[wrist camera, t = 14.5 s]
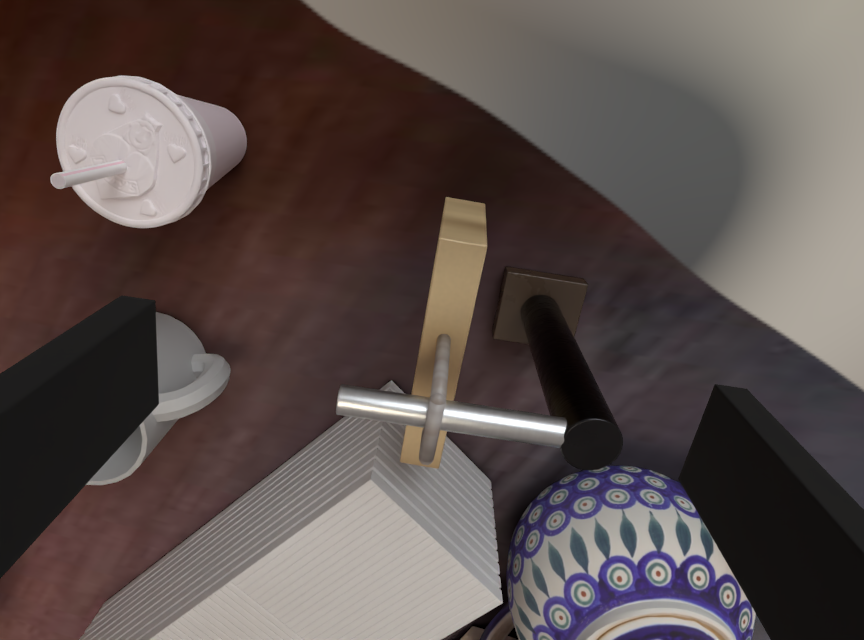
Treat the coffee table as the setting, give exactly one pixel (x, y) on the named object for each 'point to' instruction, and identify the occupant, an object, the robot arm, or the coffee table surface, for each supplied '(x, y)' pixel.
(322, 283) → the coffee table surface
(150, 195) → the smoothie
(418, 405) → the stand
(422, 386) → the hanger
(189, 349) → the cup
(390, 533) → the stack of papers
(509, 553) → the teapot
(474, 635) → the bear figurine
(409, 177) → the coffee table surface
